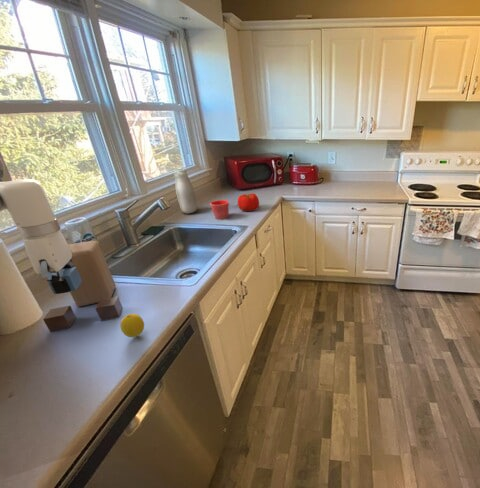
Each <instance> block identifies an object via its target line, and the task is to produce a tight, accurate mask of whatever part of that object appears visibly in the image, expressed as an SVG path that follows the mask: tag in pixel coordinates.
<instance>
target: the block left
mask: <svg viewBox="0 0 480 488" xmlns="http://www.w3.org/2000/svg"><path fill="white" fill-rule="evenodd" d="M42 320H43V322H44V324H45V325H46V327H47V329H48V331H49V332H50V333H51V332H56V331H61V330H65V329H70V328H71V327H72V325H73V324H74V322H75V321H76V320H77V316H76V314H75V312H74V310H73V309H72V306H71V305H65V306H59V307H55V308H50V309H49V311H48V312H47V313H46V314H45V316H44V317H43V318H42Z"/></svg>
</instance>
